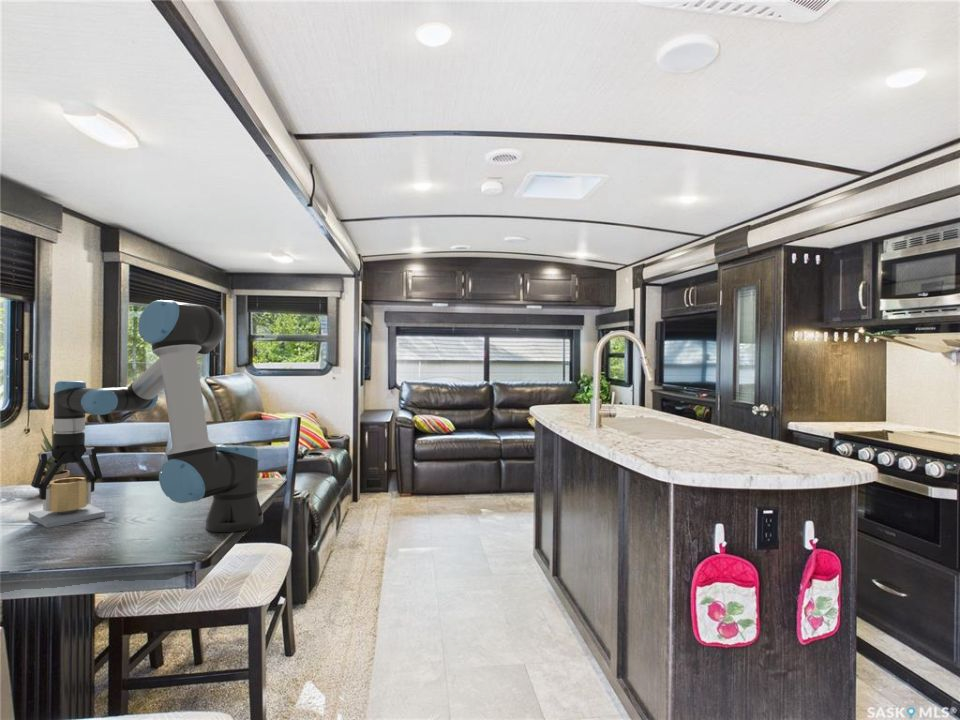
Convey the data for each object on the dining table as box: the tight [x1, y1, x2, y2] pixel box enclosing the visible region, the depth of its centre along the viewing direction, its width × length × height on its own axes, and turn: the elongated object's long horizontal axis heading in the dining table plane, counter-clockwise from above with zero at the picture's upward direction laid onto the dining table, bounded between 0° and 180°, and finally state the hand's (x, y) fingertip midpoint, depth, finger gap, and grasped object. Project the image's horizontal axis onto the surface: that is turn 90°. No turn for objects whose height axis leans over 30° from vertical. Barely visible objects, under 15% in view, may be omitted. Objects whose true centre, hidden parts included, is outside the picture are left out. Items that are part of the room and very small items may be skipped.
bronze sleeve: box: [47, 476, 88, 512], centre depth 156 cm, size 9×9×8 cm
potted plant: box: [37, 423, 70, 483], centre depth 183 cm, size 10×10×25 cm
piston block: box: [28, 504, 106, 529], centre depth 156 cm, size 16×14×9 cm
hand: (67, 506), depth 156 cm, fingers closed on bronze sleeve, 9 cm apart
